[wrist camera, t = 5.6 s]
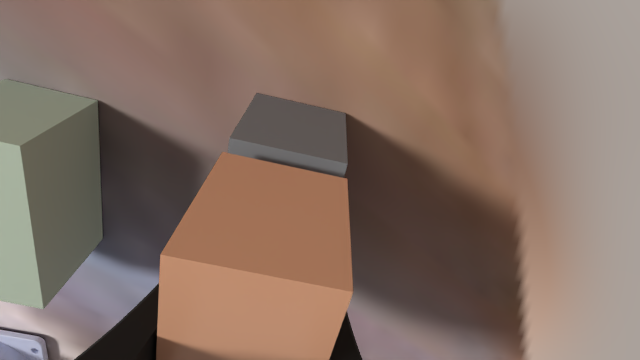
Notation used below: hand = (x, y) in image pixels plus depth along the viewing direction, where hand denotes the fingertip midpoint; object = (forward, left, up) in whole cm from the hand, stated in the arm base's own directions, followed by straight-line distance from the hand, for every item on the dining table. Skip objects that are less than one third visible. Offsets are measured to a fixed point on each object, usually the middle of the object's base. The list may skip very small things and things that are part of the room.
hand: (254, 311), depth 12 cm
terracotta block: (0, 0, -2) cm, 2 cm away
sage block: (-2, +11, -8) cm, 14 cm away
